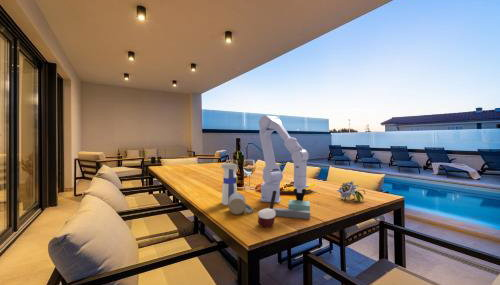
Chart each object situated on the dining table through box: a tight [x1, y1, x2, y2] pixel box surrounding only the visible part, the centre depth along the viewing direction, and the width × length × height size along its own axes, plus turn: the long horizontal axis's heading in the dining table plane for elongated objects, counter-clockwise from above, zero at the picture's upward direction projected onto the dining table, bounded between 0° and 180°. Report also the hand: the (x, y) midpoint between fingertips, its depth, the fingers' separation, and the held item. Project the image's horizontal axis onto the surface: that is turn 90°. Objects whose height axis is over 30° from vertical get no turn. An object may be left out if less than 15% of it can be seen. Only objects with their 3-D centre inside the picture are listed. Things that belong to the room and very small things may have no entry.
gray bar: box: [273, 207, 311, 220], centre depth 92 cm, size 15×2×2 cm, turn 76°
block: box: [287, 199, 311, 212], centre depth 99 cm, size 9×7×4 cm
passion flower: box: [336, 180, 366, 203], centre depth 119 cm, size 11×11×12 cm
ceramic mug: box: [228, 192, 254, 216], centre depth 97 cm, size 11×8×8 cm
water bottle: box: [221, 152, 239, 206], centre depth 110 cm, size 8×9×25 cm
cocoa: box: [257, 191, 276, 228], centre depth 82 cm, size 10×6×12 cm, turn 113°
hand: (299, 204), depth 104 cm, fingers closed
